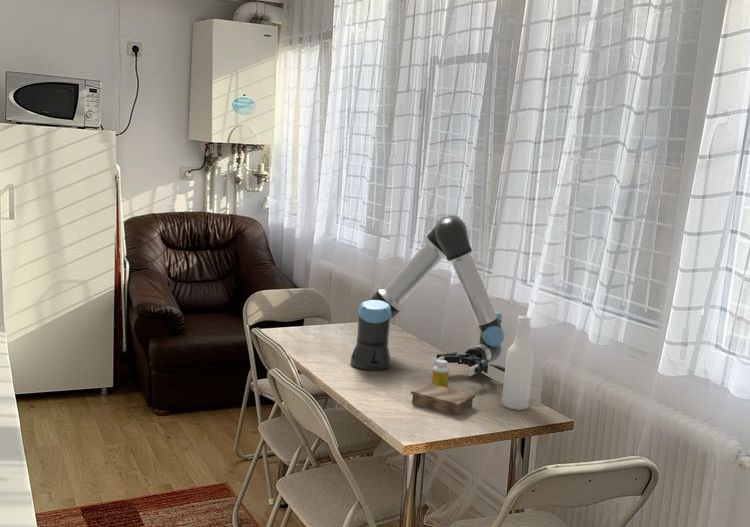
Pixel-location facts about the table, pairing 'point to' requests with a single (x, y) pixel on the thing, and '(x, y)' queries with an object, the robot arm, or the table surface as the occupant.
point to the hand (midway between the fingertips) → (451, 367)
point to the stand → (442, 399)
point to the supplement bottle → (440, 373)
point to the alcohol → (518, 368)
